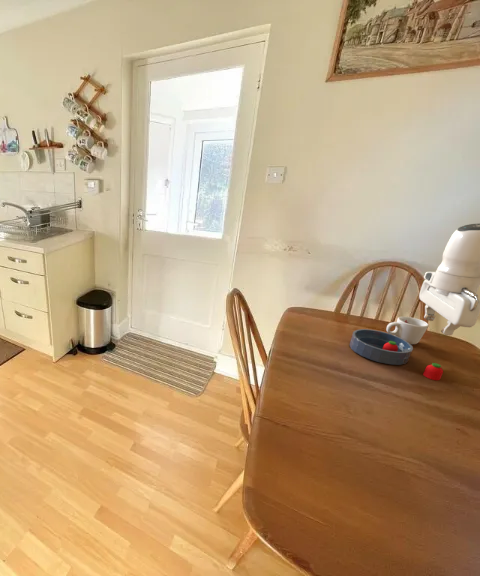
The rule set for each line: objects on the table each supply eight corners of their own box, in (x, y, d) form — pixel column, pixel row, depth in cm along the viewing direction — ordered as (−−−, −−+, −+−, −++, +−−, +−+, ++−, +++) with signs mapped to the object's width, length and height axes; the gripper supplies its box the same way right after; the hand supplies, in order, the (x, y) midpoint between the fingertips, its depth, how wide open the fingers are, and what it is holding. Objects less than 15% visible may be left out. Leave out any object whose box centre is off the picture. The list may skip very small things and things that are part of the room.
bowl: (395, 345, 110) (400, 333, 108) (417, 370, 97) (423, 356, 95) (343, 338, 116) (347, 326, 114) (357, 360, 102) (361, 347, 101)
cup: (389, 344, 111) (397, 324, 108) (376, 333, 118) (383, 314, 115) (426, 347, 109) (435, 327, 106) (410, 336, 116) (418, 317, 113)
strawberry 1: (392, 351, 106) (397, 340, 104) (397, 357, 103) (402, 345, 101) (379, 349, 107) (383, 338, 106) (383, 355, 104) (388, 343, 103)
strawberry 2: (429, 372, 96) (435, 360, 94) (443, 379, 93) (449, 367, 91) (419, 373, 96) (424, 361, 94) (432, 381, 92) (438, 368, 91)
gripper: (498, 297, 77) (474, 346, 82) (449, 273, 94) (432, 314, 99) (463, 294, 79) (442, 341, 84) (422, 270, 97) (407, 311, 102)
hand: (436, 326), depth 92 cm, fingers open, 8 cm apart
